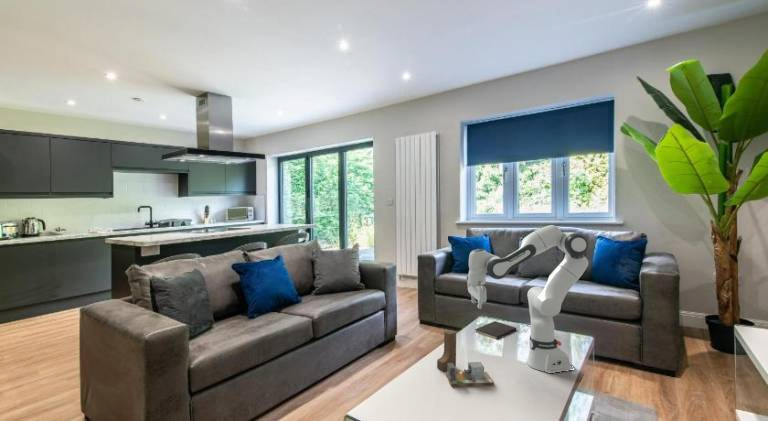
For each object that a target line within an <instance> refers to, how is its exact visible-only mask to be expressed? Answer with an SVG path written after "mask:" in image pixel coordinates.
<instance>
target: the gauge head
mask: <svg viewBox="0 0 768 421" xmlns="http://www.w3.org/2000/svg"><path fill="white" fill-rule="evenodd" d="M467 364H468V365H467V368H468V369H467V368H465V369H464V370H463V372H465V373H468V375H469V377H470V378H471V380H472V381H473V382H475V380H484V372H485V366H484V364H483V363H482V362H481V361H468V363H467Z"/></svg>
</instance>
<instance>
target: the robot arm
mask: <svg viewBox="0 0 768 421" xmlns="http://www.w3.org/2000/svg"><path fill="white" fill-rule="evenodd" d="M520 245H521V246H520V247H519V248H518V249H516V250H515V251H513V252H512V253H510V254H508V255H507V256H505V257H500V256H498V255H495V254H492V253H490V252H488V251H487V250H485V249H484V248H476V249H472V250H471V251H470V253H469V256H468V269H469V270H468V274H467V275H466V283H467V291H468V293H469V294H470V297H471V298H470V299H471V303H472V304H476V302H477V303H478V304H476V305H477V308H478V309H479V310H481V309H482V308H483V307H482V306H483V304H484V303H486V302H487V299H488V298H487V288H486V286H484V285H485V284H486V283H487V278H486V276H487V275H486V274H488V275H489V277H491V278H492V279H495V280H502V279H504V278H505V277H506V276H508V274H509V273H510V272H511V271H512V270H513V269H514V268H516V267H517V266H519V265H521V264H523V263H524V262H526V261H527V260H529V259H532V258H533V257H535V256H538V255H540V254H541V253H544V252H546V251H548V250H549V249H552V248H554V247H555V248H557V249H558V250H559V251H561V252H563V253H564V258H563V260H562V261H561V262H560V263H559V264H558V265H557V266H556V268H554V270H553V271H552V272H551V273H550V274H549V276H548V278H547V281H546V284H545V285H544V287H542V286H541V287H540V286H533V287H531V288H530V289H528V291H527V294H526V296H527V300H528V310H529V316H530V318H529V319H530V335H529V343H528V344H529V351H528V356H527V360H526V364H527V366H529V367H531V368H532V369H534V370H537V371H541V372H544V371H545V373H547V372H548V374H549V373H554V374H556V373H555V372H560V373H562V372H561V371H566V370H570V369H573V368H575V366H574V364H573V363H572V362H570V357H569V355H568V354H567V353H566V352H565V351H564V350H563V349H561V348H560V347H561V346H562V341H560V340H557V339H556V338H555V322H554V319H553V317H556V316H558V315H559V314H560V312H561V309H562V304H563V302H564V300H565V298H566V296H567V294H568V292H569V291H570V290H571V289H572V287H573V286H574V285H575V284H576V282H577V281H579V279H580V278H581V276H582V275H583V274H584V273H585V271H586V269H587V268H588V266H589V260H588V259H587V257H586V256H587V252H588V249H589V240H588V239H587V237H586V236H584V235H583V234H581V233H578V232H574V231H562V229H561V228H559V227H558V226H557V225H555V224H549V225H546V226H544V227H541V228H538V229H536V230H534V231H533V232H531V233H529V234H527V235H526V236H525V237H523V239H522V241H521V244H520ZM476 300H477V301H476ZM572 366H573V367H572Z"/></svg>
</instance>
